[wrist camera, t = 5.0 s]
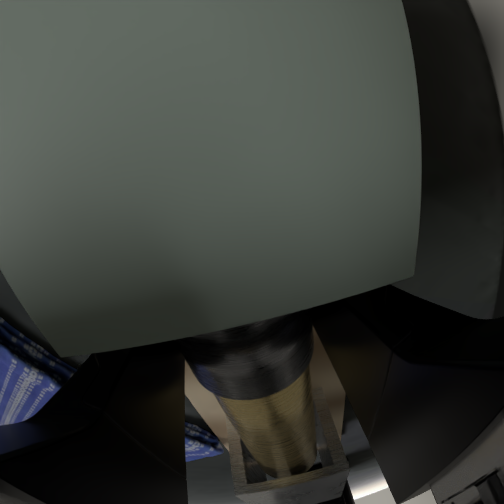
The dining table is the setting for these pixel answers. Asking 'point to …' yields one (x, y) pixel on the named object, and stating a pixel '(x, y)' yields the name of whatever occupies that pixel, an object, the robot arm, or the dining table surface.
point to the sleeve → (298, 486)
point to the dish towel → (57, 387)
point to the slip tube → (263, 387)
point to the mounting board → (320, 377)
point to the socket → (202, 162)
